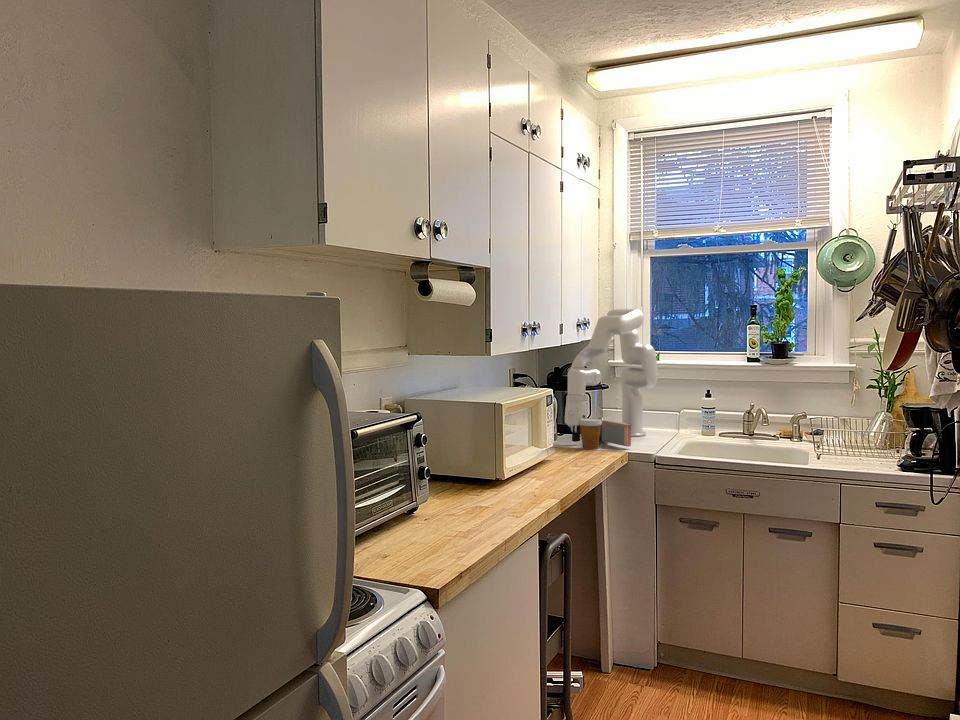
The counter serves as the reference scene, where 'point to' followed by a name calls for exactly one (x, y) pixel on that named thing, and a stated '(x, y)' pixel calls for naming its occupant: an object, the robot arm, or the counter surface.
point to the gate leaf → (616, 433)
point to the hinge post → (601, 435)
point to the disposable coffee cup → (590, 432)
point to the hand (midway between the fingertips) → (576, 441)
